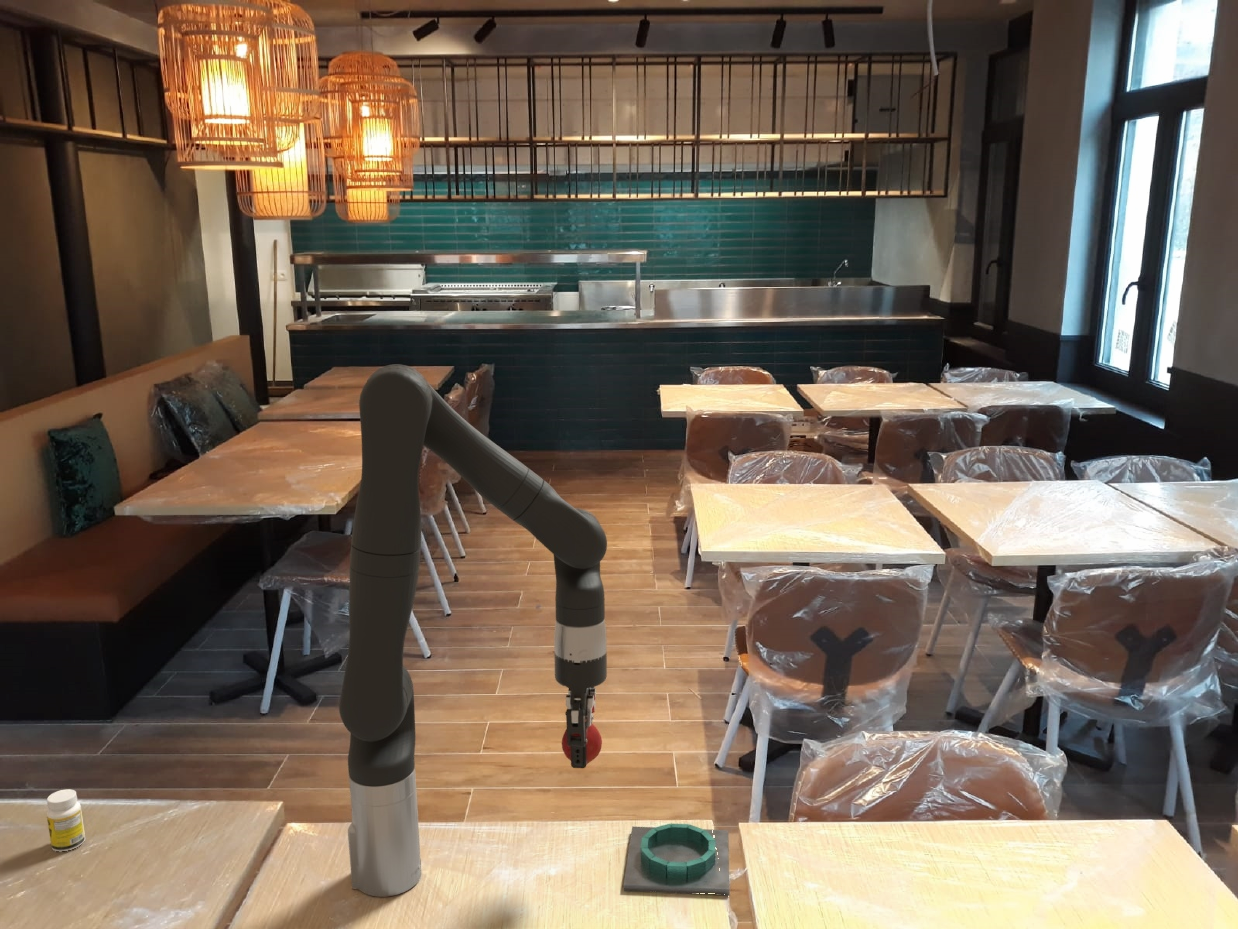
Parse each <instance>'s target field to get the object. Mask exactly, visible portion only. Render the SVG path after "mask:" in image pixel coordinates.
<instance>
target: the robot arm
mask: <svg viewBox="0 0 1238 929" xmlns="http://www.w3.org/2000/svg"><path fill="white" fill-rule="evenodd" d="M358 406H359V409H358V410H359V419H360V420H359V421H360V436H361V438H360V439H361V478H360V484H359V490H358V495H357V500H356V505H355V511H354V516H353V517H354V518H353V524H352V533H351V544H350V555H349V556H350V558H349V560H350V561H349V584H348V585H349V590H348V593H349V594H348V595H349V596H348V623H349V627H348V628H349V638H348V639H349V640H348V642H349V643H348V650H347V658H346V662H345V663H346V664H345V669H344V675H343V682H342V687H341V692H340V696H339V702H338V710H339V715H340V718H341V721H342V723H343V725H344V727H345V729H346V730H347V731H348V732H349V733H350V737H349V738H350V739H349V749H348V756H347V769H348V779H349V780H348V782H349V791H350V792H349V793H350V794H349V795H350V805H351V818H352V819H351V820H352V822H351V823H350V825H349V826H348V828H347V839H348V840H347V841H348V851H349V864H350V865H349V867H350V878H351V889H353V890H354V889H355V890H359V891H361V892H362V893H364V894H366V895H368V896H373V897H380V898H383V897H385V898H386V897H392V896H396V895H400V894H404V893H405V892H407V891H409V890H411V889H412V888H413V887H414V886H416V884H418V883H419V881H420V880H421V877H422V858H421V844H420V828H419V812H418V810H419V809H418V798H417V797H418V795H417V794H418V793H417V781H416V779H417V778H416V767H415V766H416V765H415V751H416V735H417V734H416V714H415V713H416V712H415V710H416V709H415V692H414V684H413V680H412V677H411V674H410V673H409V671H408V669H407V668H406V667H405V666H404V662H403V661H404V650H405V640H406V636H407V630H408V627H409V623H410V618H411V615H412V611H413V606H414V601H415V598H416V593H417V586H418V582H419V575H420V574H419V572H420V562H421V550H422V512H421V511H422V510H421V500H420V490H419V487H420V486H419V478H420V477H419V476H420V475H419V474H420V465H421V461H422V460H421V459H422V454H423V447H425V448H427V449H428V450H429V451H431V452H433V453H434V454H435V455H436V456H438V457H439V458H440V459H441V460H442V461H443V462H444V463H446V464H447V465H448V466H449V467H451V469H453V470H454V471H455V473H457V474H458V475H459V476H460V477H462V479H463V480H464V481H465V482H466V483H467V484H468V485H469V486H470V487H471V488H472V489H473V490H474V491H475V492H476V493H477V494H478V495H480V496H481V497H482V498H484V500H486V501H487V502H488V503H489V504H490V505H492V506H493V507H494V508H496V509H497V510H498V511H499V512H501V513H503V514H504V515H505V516H506V517H508V518H509V519H511V520H512V521H513V522H515V523H517V524H518V525H519V526H521V527H523V528H524V529H526V531H528V532H529V533H530V534H531V535H532V536H533V537H534V538H535V539H536V540H537V541H538V542H540V543H541V544H542V545H543V546H544V547H545V548H546V549H547V550H548V551H550V553H552V554H553V562H554V573H555V579H556V580H555V582H556V583H555V625H554V633H553V637H554V638H553V639H554V640H553V641H554V652H553V653H554V655H553V656H554V678H555V681H556V682H557V683H558V684H559V685H560V686H563V687H566V688H568V689H567V690H568V694H566V695H565V706H566V711H565V720H566V729H567V746H571V761H570V765H571V766H570V767H571V768H573V769H585V768H586V767H587V765H588V764H587V742H588V739H587V729H588V728H589V727H590V726H591V723H592V722H593V721H594V718H595V717H594V713H595V712H596V711H595V710H596V696H597V689H596V687H598V686H600V685H601V684H603V683H604V682H605V681H606V680H607V676H608V672H607V671H608V667H607V666H608V665H607V663H608V661H607V660H608V659H607V658H608V655H607V654H608V652H607V643H608V642H607V628H606V627H607V626H606V621H605V620H606V619H605V618H606V617H605V613H606V612H605V611H606V610H605V589H604V585H603V580H602V578H601V576H602V575H601V562H602V560H603V559H604V557H605V555H606V553H607V548H608V539H607V535H606V533H605V530H604V529H603V527H602V525H601V523H600V522H599V520H598V519H597V517H596V516H595V515H594V514H593V513H592V512H589V511H588V510H586V509H583V508H575V507H574V506H573V505H571V503H568V502H567V501H566V500H565V499H563V497H561V496H560V494H558V492H557V491H556V490H555V489H554V487H553V486H552V485H550V483H548V482H547V481H546V480H545V479H543V478H542V477H541V476H540V475H538V474H537V473H535V472H534V471H533V470H531V469H530V468H529V467H527V466H526V465H525V464H524V463H522V462H521V461H520V460H518V459H517V458H516V457H514V456H513V455H511V453H509V452H507V451H506V450H505V449H503V448H501V446H499V445H497V444H496V443H495V442H494V441H492V440H491V439H490V438H489V437H487V436H485V435H484V434H483V433H481V432H480V431H479V429H476V428H475V427H474V426H473V425H472V424H470V422H468V420H465V418H463V417H462V416H461V415H460V414H459V413H458V412H457V411H455V409H454V408H453V407H452V406H450V404H449V403H448V402H446V400H445V399H444V398H443V397H442V396H441V395H440V394H439V393H438V392H437V391H436V390H435V389H434V388H433V386H431V384H430V383H429V382H428V380H427V379H426V378H425V377H424V375H423V374H421V372H419V371H418V370H416V369H415V368H413V367H411V366H409V365H404V364H401V363H400V364H399V363H398V364H397V363H396V364H394V363H393V364H389V365H384V366H382V367H380V368H378V369H377V370H375V371H374V372H373V373H372V374H371V375H370V376H369V378H368V379H367V380H366V382H365V383H364V384H363V387H362V389H361V392H360V395H359V400H358ZM585 719H587V720H586V722H585ZM592 724H593V723H592ZM574 733H577V734H580V735H581V736H574ZM586 764H587V765H586Z"/></svg>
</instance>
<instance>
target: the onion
mask: <svg viewBox="0 0 1238 929" xmlns="http://www.w3.org/2000/svg"><path fill="white" fill-rule="evenodd" d="M586 720H587V719H585V722H586ZM574 736H581V735H580V734H577V733H574ZM561 738H562V739H561V749H562V751H563V754H564V755H565V757H566V758H567V759H568V760H569V761H570V762H571V746H567V728H566V729H565V731H564V733H563V736H562V737H561ZM587 739H588V742H587V764H586V766H587V765H589V763H591V762H592V761H594V760H595V759H596V758H597V757H598V756H599V754H600V752H601V751H602V746H603V740H602V739H603V738H602V736H601V734H600V732H599V729H598V728H597V727H596V725H594V723H591V726H590V727H589V728H588V729H587Z"/></svg>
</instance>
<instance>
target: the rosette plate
mask: <svg viewBox="0 0 1238 929" xmlns="http://www.w3.org/2000/svg"><path fill="white" fill-rule="evenodd" d="M712 830H713V833H712ZM713 835H715V838H713ZM715 847H716V848H717V850H716V849H715ZM729 848H730V846H729V829H708V828H707V829H705V828H704V829H703V828H701V827H698V826H695V825H693V824H691V823H690V824H689V823H671V822H670V823H667V824H662V825H659V826H655V827H654V826H631V832H630V839H629V846H628V851H627V852H628V853H627V861H626V866H625V874H624V881H623V892H638V893H658V894H659V893H660V894H661V893H664V894H680V895H682V894H683V895H684V894H685V895H686V894H687V895H693V894H692V893H699V894H698V895H701V894H700V893H705V894H708V893H715V894H721V895H720V896H724V897H725V896H727V897H728V896H730V895H731V894H730V892H731V891H730V890H731V889H730V888H731V887H730V853H729V850H730V849H729ZM717 852H718V855H717ZM718 858H719V859H718ZM719 868H720V871H719ZM724 894H725V895H724Z"/></svg>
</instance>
